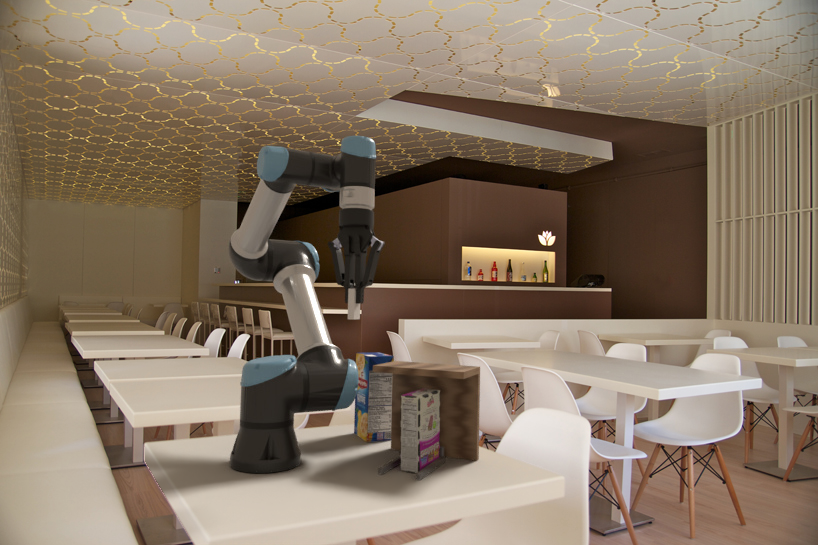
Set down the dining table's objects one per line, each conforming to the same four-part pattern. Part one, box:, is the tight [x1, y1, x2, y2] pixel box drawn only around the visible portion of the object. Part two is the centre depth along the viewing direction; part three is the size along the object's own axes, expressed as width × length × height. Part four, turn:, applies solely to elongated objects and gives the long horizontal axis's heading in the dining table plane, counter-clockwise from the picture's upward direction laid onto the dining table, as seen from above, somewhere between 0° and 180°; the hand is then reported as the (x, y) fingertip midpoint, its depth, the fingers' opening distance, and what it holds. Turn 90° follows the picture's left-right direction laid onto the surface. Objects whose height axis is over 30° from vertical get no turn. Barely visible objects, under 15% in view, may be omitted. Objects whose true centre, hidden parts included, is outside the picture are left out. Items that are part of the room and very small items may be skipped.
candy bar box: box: [399, 388, 440, 474], centre depth 127 cm, size 11×5×16 cm, turn 153°
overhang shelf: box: [373, 360, 481, 481], centre depth 128 cm, size 22×21×22 cm
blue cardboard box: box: [353, 351, 394, 443], centre depth 154 cm, size 7×11×22 cm, turn 23°
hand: (353, 319), depth 121 cm, fingers closed
